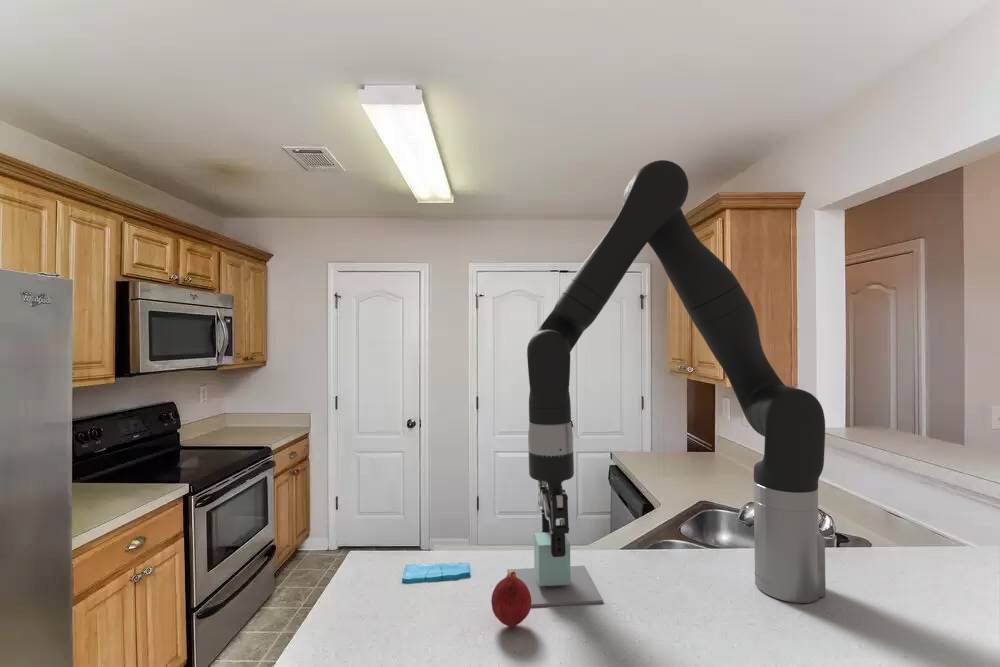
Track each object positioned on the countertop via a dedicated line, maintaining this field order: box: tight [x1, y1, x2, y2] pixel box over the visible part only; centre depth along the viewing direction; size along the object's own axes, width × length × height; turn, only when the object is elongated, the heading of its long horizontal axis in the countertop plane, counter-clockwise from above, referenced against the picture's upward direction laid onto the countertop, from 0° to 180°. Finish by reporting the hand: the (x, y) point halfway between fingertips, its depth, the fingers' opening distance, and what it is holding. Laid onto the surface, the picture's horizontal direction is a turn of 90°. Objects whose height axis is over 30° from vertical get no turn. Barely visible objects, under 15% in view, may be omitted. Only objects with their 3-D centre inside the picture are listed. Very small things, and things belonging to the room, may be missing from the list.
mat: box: [506, 565, 604, 608], centre depth 85 cm, size 14×12×1 cm
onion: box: [490, 570, 532, 628], centre depth 73 cm, size 6×6×8 cm
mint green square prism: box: [533, 532, 571, 586], centre depth 85 cm, size 5×5×7 cm
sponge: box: [401, 561, 471, 584], centre depth 89 cm, size 2×12×6 cm
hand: (553, 544), depth 85 cm, fingers open, 8 cm apart
